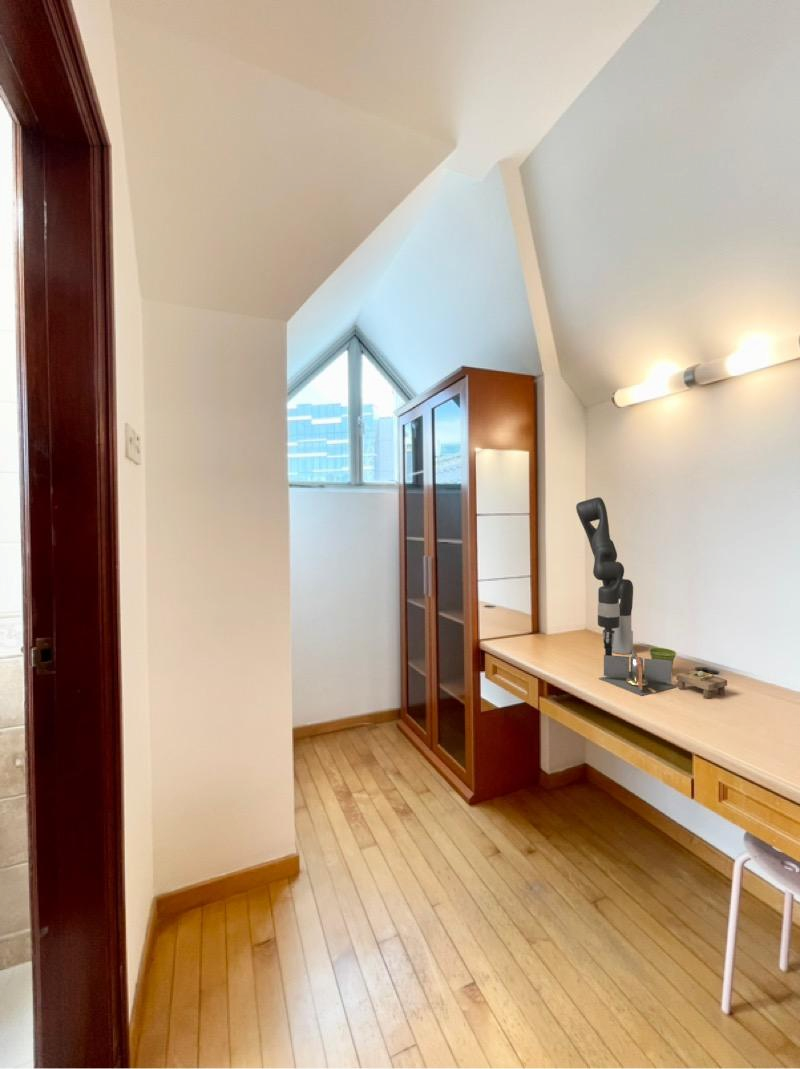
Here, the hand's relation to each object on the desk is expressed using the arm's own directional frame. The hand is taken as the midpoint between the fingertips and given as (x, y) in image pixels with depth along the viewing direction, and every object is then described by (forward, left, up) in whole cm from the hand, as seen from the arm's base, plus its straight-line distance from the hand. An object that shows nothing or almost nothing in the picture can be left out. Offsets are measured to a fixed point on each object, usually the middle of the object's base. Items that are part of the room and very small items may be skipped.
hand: (608, 658), depth 167 cm
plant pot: (-23, +5, -8) cm, 25 cm away
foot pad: (-5, +8, -7) cm, 12 cm away
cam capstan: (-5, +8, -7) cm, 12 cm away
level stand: (-18, +23, -7) cm, 30 cm away
